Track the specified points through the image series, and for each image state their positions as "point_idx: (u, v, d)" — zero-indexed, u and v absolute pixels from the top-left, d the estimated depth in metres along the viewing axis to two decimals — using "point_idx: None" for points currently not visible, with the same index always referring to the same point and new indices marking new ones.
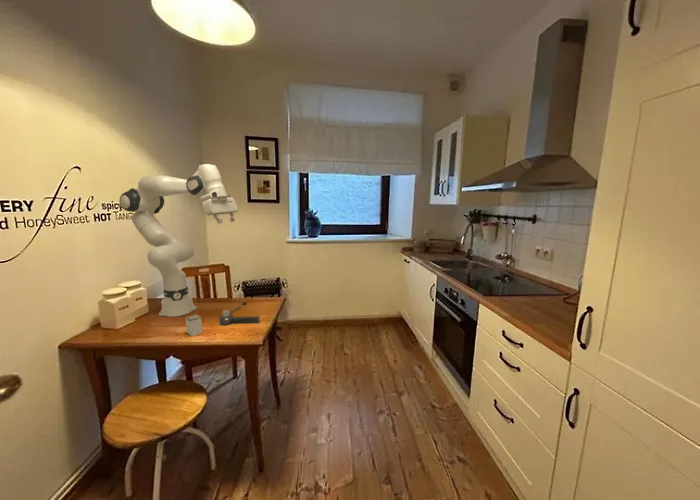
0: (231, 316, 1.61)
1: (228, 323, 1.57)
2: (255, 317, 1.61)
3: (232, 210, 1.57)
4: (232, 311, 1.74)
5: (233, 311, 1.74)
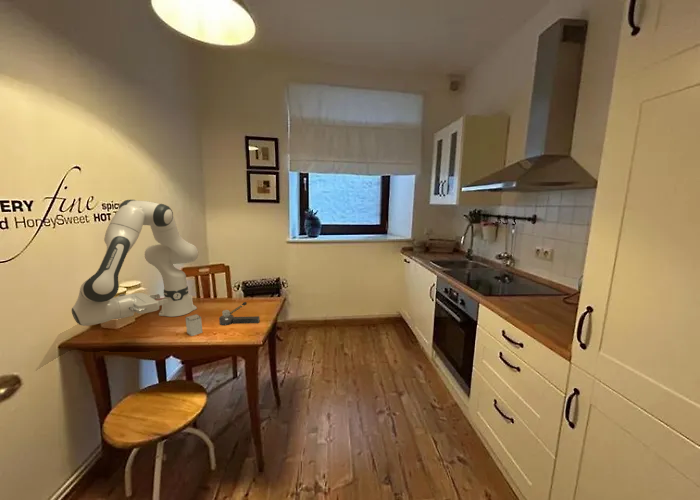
0: (231, 316, 1.61)
1: (228, 323, 1.57)
2: (255, 317, 1.61)
3: None
4: (232, 311, 1.74)
5: (233, 311, 1.74)
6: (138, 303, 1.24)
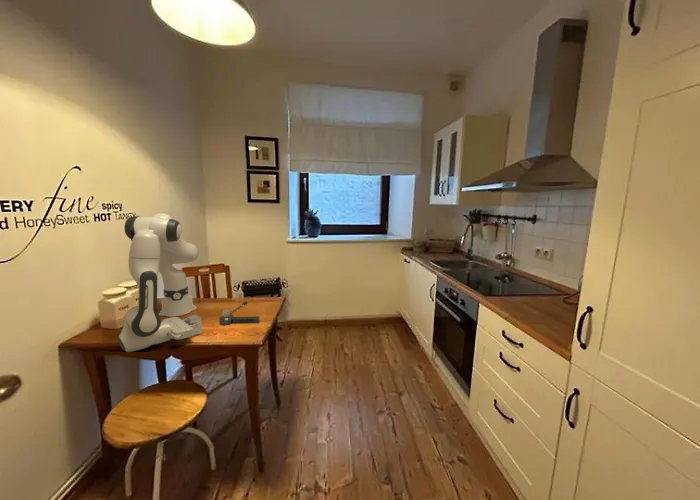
0: (231, 316, 1.61)
1: (228, 323, 1.57)
2: (255, 317, 1.61)
3: None
4: (233, 310, 1.75)
5: (234, 310, 1.75)
6: (175, 330, 1.36)
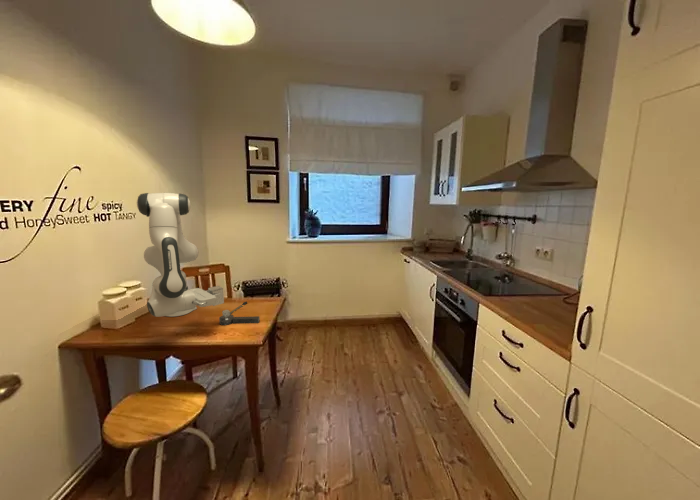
0: (231, 316, 1.61)
1: (228, 323, 1.57)
2: (255, 317, 1.61)
3: None
4: (233, 310, 1.75)
5: (234, 310, 1.75)
6: (199, 298, 1.42)
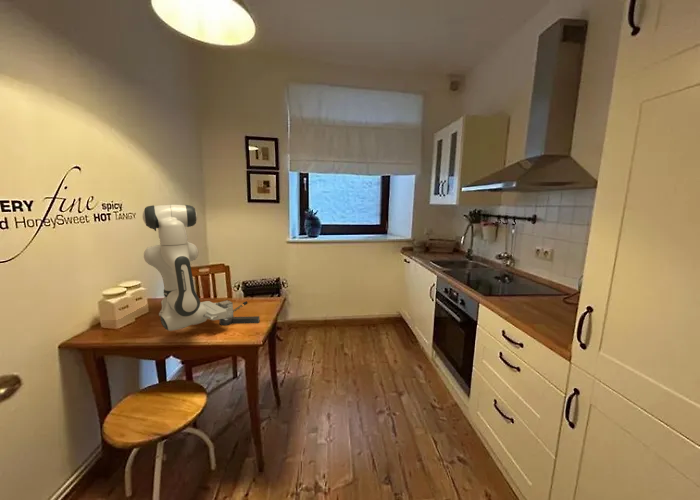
0: None
1: (228, 323, 1.57)
2: (255, 317, 1.61)
3: None
4: (233, 310, 1.75)
5: (234, 310, 1.75)
6: (211, 311, 1.47)
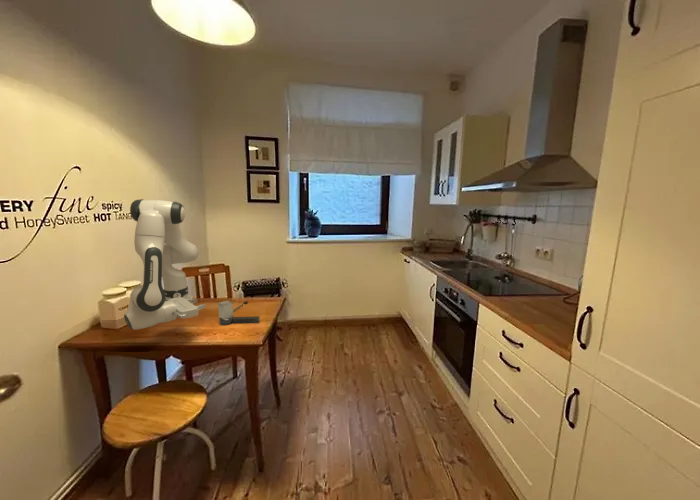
0: None
1: (228, 323, 1.57)
2: (255, 317, 1.61)
3: None
4: (234, 310, 1.76)
5: (235, 310, 1.76)
6: (180, 309, 1.37)
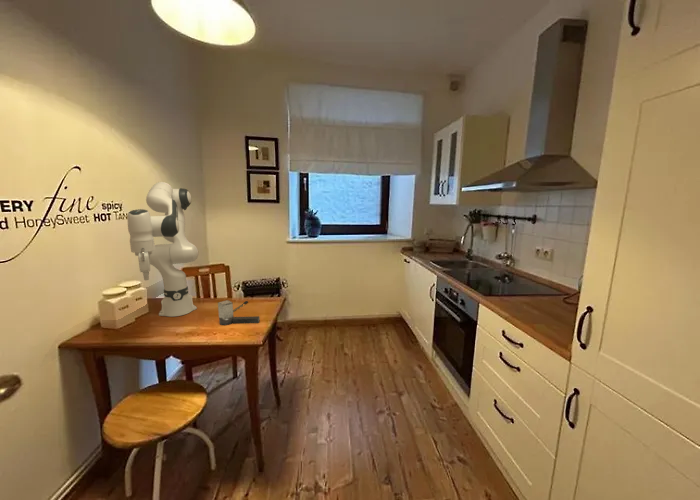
0: None
1: (228, 323, 1.57)
2: (255, 317, 1.61)
3: None
4: (234, 310, 1.76)
5: (235, 310, 1.76)
6: (148, 255, 1.32)
